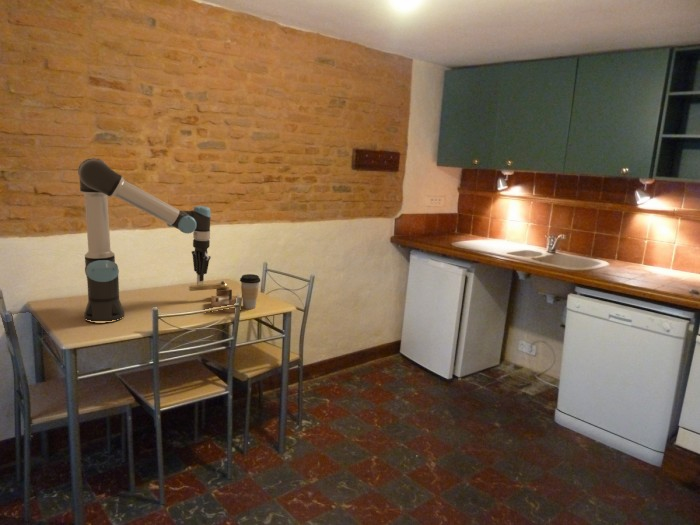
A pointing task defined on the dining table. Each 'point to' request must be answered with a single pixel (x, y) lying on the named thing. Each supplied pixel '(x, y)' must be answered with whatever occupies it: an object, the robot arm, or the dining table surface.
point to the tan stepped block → (223, 302)
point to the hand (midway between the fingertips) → (199, 287)
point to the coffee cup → (249, 290)
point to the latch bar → (208, 286)
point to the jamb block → (222, 292)
